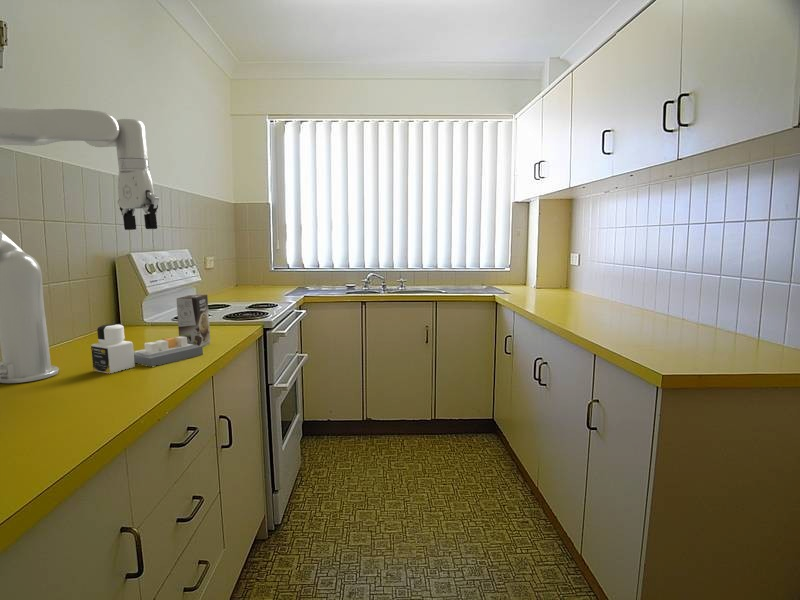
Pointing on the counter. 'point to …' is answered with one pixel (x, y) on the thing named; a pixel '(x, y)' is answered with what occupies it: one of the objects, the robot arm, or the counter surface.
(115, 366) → the medicine bottle
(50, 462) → the counter surface
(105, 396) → the counter surface
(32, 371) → the robot arm
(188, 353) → the breaker panel
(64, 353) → the counter surface
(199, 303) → the coffee box
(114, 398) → the counter surface
